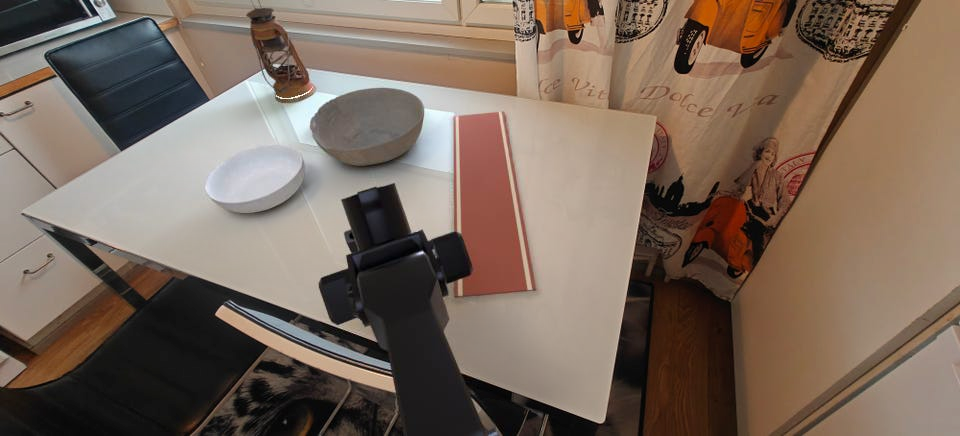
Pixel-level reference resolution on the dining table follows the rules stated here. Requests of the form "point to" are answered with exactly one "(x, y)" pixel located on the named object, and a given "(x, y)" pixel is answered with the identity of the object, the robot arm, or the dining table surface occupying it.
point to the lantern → (289, 76)
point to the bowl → (368, 125)
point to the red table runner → (489, 208)
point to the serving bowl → (256, 178)
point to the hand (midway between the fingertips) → (397, 271)
